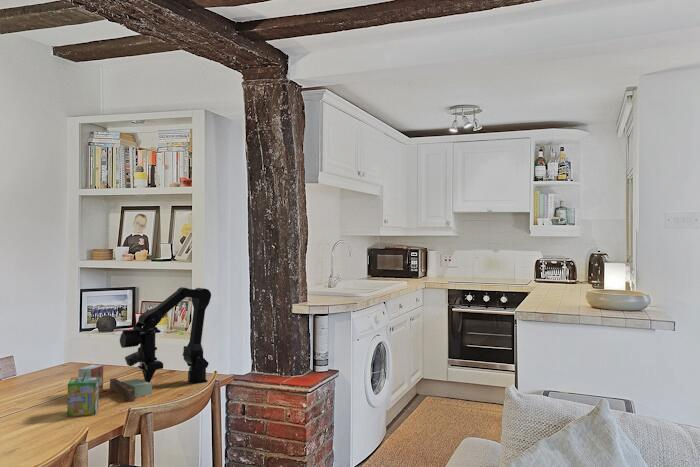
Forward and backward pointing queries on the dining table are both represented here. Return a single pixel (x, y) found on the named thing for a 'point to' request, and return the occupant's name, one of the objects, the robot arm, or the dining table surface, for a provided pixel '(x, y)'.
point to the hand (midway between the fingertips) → (147, 383)
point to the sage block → (139, 387)
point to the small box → (93, 373)
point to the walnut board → (122, 390)
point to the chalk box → (83, 396)
